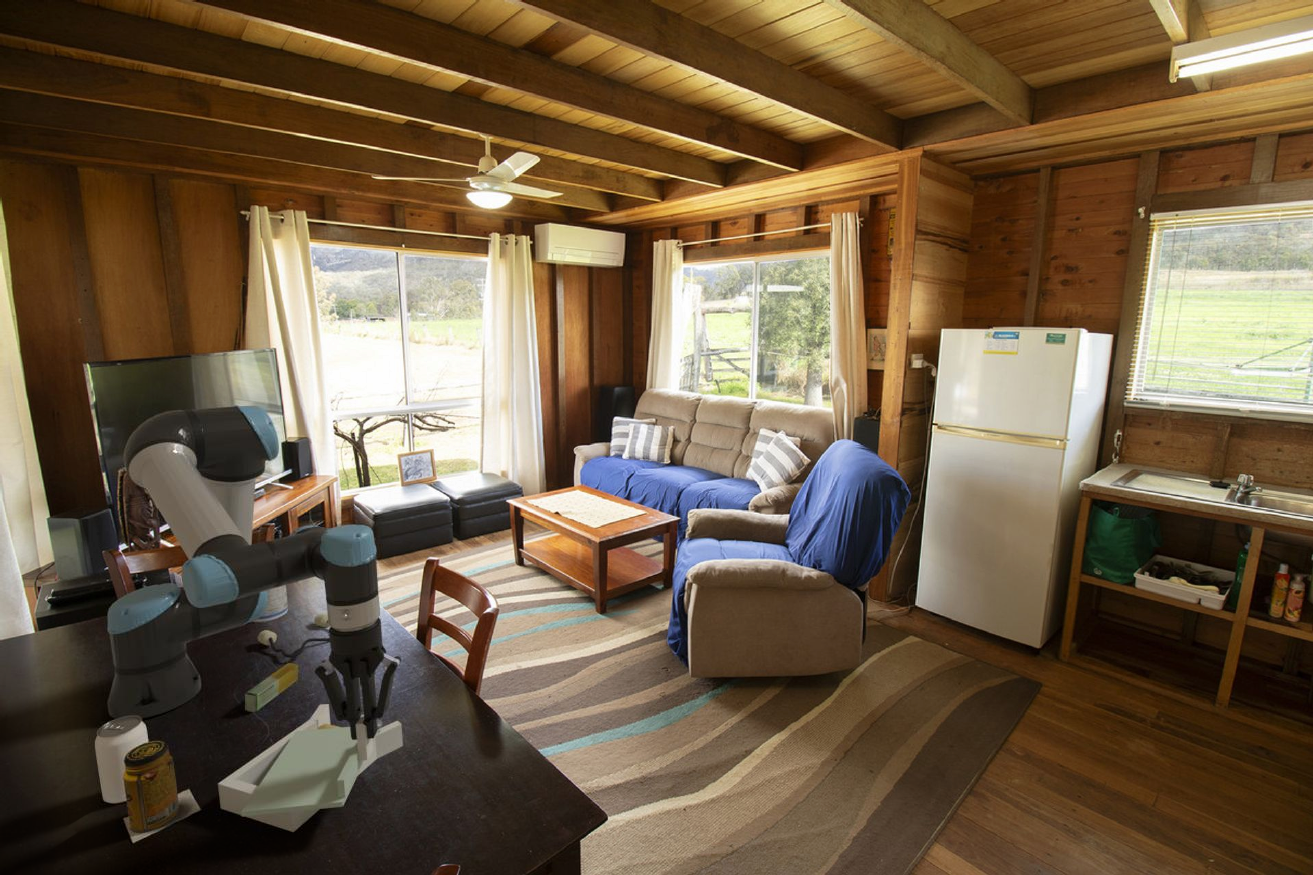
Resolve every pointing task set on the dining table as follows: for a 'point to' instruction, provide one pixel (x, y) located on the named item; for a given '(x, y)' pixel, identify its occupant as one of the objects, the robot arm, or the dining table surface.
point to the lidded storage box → (250, 776)
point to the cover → (309, 773)
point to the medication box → (271, 687)
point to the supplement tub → (274, 604)
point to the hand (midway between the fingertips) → (366, 754)
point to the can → (117, 753)
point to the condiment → (153, 791)
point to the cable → (320, 620)
